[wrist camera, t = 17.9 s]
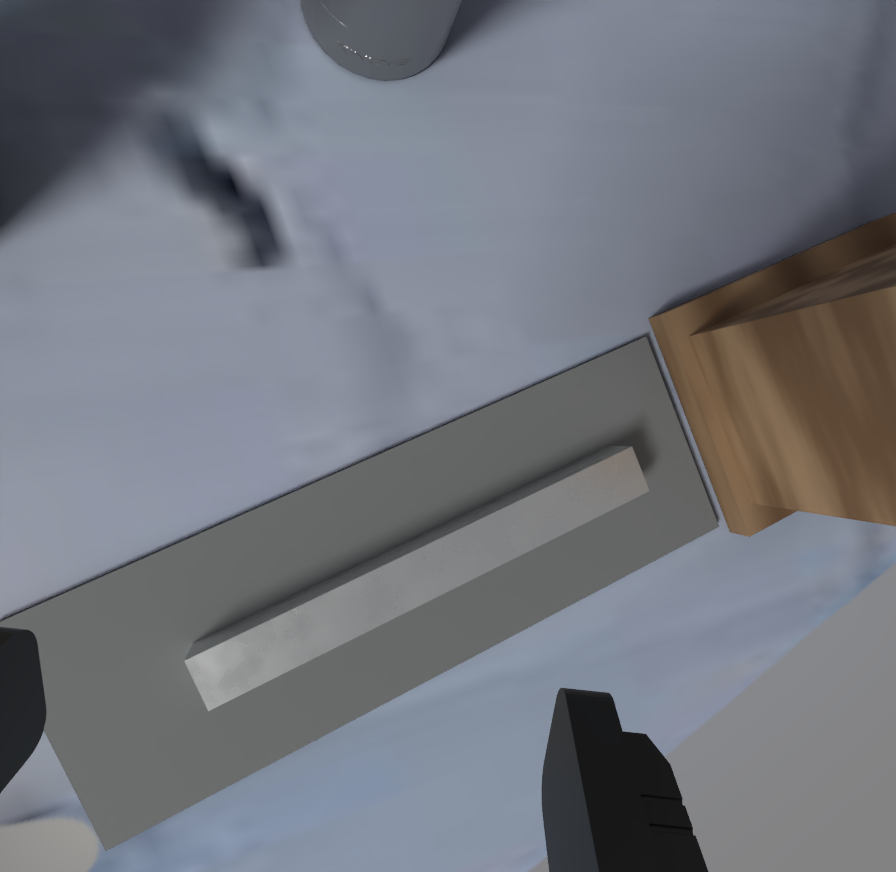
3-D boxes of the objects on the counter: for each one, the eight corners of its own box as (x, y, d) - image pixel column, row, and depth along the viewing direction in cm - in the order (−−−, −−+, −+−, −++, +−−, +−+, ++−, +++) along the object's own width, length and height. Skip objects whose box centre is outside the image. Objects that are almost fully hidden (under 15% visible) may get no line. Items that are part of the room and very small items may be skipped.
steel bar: (215, 689, 37) (208, 711, 34) (193, 642, 37) (184, 660, 34) (625, 486, 43) (649, 491, 40) (609, 445, 42) (632, 446, 39)
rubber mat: (108, 844, 36) (105, 851, 36) (-5, 622, 35) (-10, 626, 34) (713, 525, 45) (719, 526, 44) (641, 337, 44) (646, 336, 43)
